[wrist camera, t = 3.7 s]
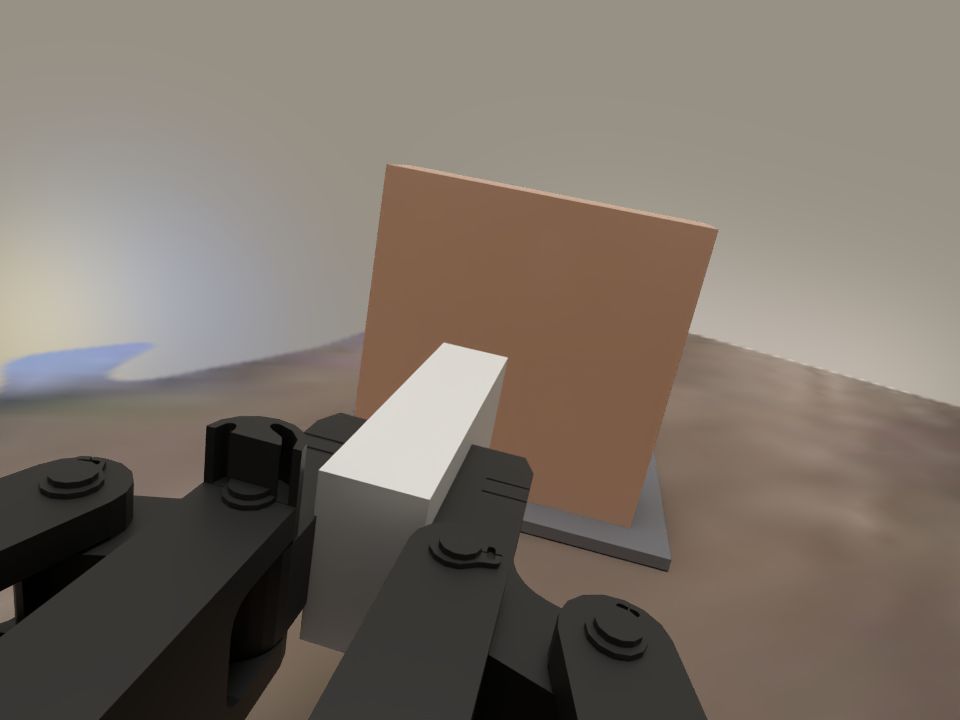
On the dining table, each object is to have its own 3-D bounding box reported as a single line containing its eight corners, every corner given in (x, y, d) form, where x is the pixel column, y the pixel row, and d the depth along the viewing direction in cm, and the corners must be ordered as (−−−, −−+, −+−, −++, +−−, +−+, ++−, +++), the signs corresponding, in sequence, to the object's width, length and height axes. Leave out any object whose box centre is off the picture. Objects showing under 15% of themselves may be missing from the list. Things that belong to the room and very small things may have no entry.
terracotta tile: (627, 489, 28) (704, 222, 25) (630, 528, 25) (718, 229, 22) (376, 425, 30) (412, 165, 26) (349, 454, 27) (386, 164, 23)
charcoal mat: (645, 417, 39) (646, 410, 39) (667, 570, 24) (671, 559, 24) (413, 362, 41) (414, 355, 41) (299, 471, 26) (300, 460, 26)
